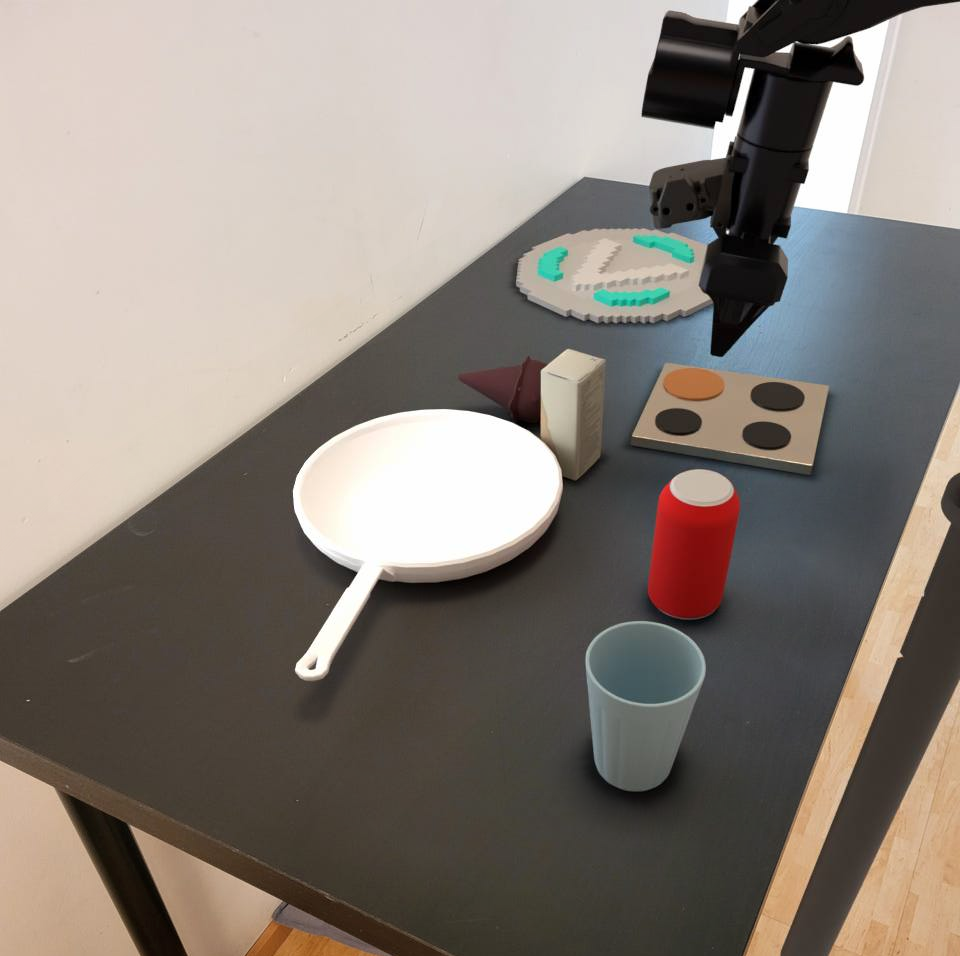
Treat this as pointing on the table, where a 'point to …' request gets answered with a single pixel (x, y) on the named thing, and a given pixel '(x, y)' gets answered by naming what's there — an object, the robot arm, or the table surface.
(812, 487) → the table surface
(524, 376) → the icecream
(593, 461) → the box
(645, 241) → the grey teal round disc
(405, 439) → the pan
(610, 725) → the cup
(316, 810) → the table surface
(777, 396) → the stove
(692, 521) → the beverage can
